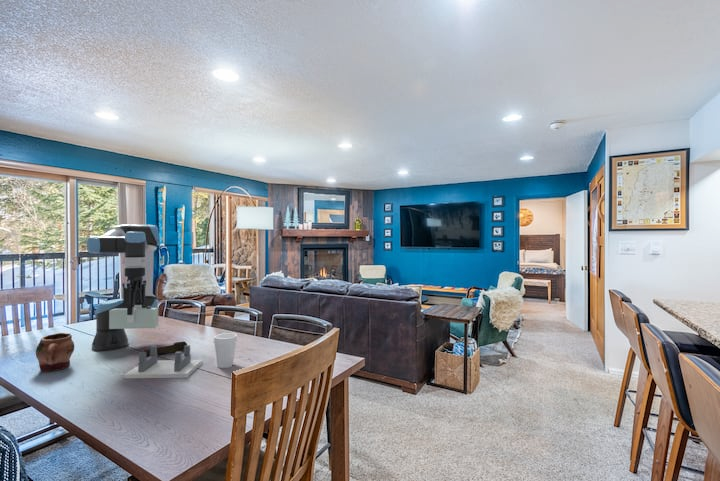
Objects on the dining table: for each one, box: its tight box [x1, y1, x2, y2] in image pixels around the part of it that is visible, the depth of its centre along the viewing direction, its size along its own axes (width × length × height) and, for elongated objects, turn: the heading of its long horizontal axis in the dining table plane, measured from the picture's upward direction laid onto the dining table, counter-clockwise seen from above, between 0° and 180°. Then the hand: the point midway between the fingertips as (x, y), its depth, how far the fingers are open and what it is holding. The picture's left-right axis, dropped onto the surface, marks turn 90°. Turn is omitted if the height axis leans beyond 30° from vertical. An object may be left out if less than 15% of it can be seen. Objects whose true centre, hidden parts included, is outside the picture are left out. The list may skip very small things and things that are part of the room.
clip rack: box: [123, 344, 203, 379], centre depth 147 cm, size 16×24×9 cm, turn 94°
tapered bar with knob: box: [109, 306, 159, 330], centre depth 151 cm, size 4×18×9 cm, turn 96°
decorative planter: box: [35, 332, 75, 373], centre depth 146 cm, size 20×12×14 cm, turn 36°
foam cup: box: [213, 332, 238, 369], centre depth 153 cm, size 10×9×13 cm
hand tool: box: [142, 340, 188, 358], centre depth 168 cm, size 19×4×5 cm, turn 127°
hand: (134, 321), depth 151 cm, fingers closed on tapered bar with knob, 4 cm apart
